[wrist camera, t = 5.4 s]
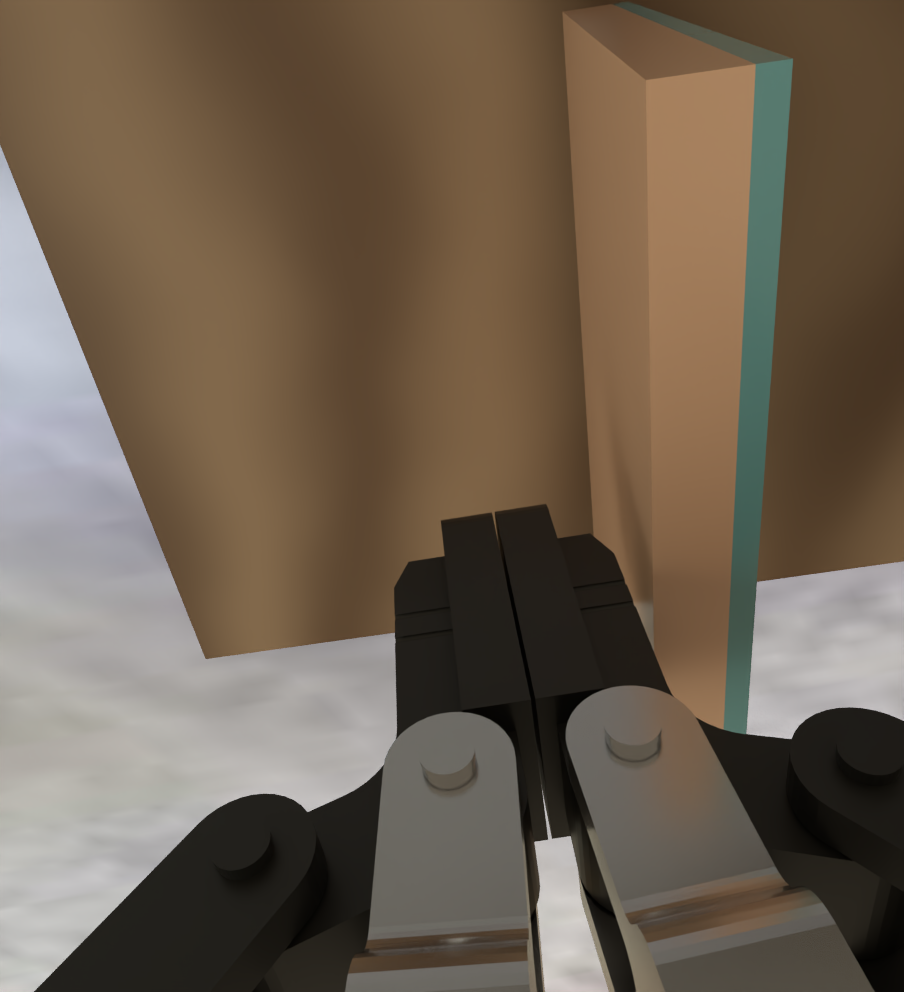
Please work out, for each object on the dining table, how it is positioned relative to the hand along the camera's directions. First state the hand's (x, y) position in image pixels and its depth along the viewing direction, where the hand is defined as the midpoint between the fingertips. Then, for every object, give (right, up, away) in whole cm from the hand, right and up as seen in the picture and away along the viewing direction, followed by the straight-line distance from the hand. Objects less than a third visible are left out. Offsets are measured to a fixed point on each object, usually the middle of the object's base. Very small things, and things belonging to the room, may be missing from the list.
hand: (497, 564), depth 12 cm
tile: (+2, +2, +3) cm, 4 cm away
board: (+3, +6, +9) cm, 11 cm away
